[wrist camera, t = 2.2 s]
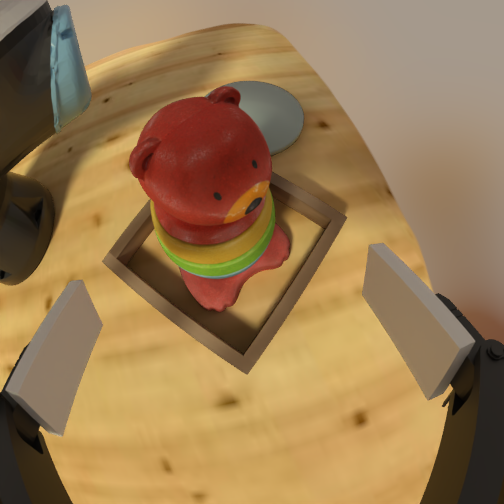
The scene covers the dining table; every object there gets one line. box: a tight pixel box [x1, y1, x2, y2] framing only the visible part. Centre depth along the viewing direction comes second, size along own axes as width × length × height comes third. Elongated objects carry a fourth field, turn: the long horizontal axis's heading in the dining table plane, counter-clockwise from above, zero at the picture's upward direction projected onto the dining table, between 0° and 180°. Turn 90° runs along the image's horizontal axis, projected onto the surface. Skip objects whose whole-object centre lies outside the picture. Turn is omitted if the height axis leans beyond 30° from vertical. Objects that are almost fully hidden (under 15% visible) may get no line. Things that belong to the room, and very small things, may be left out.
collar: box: [102, 172, 347, 374], centre depth 26 cm, size 17×17×2 cm
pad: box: [205, 81, 304, 156], centre depth 32 cm, size 14×14×1 cm
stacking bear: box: [129, 86, 290, 312], centre depth 19 cm, size 11×10×18 cm
